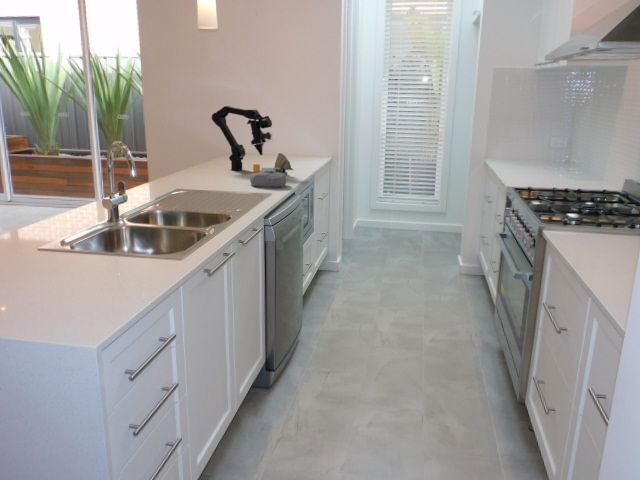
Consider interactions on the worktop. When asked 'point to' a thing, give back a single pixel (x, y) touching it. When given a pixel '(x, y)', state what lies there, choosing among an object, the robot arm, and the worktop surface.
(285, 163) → the block
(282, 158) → the rock
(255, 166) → the orange cube
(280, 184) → the small grey backpack
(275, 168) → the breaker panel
